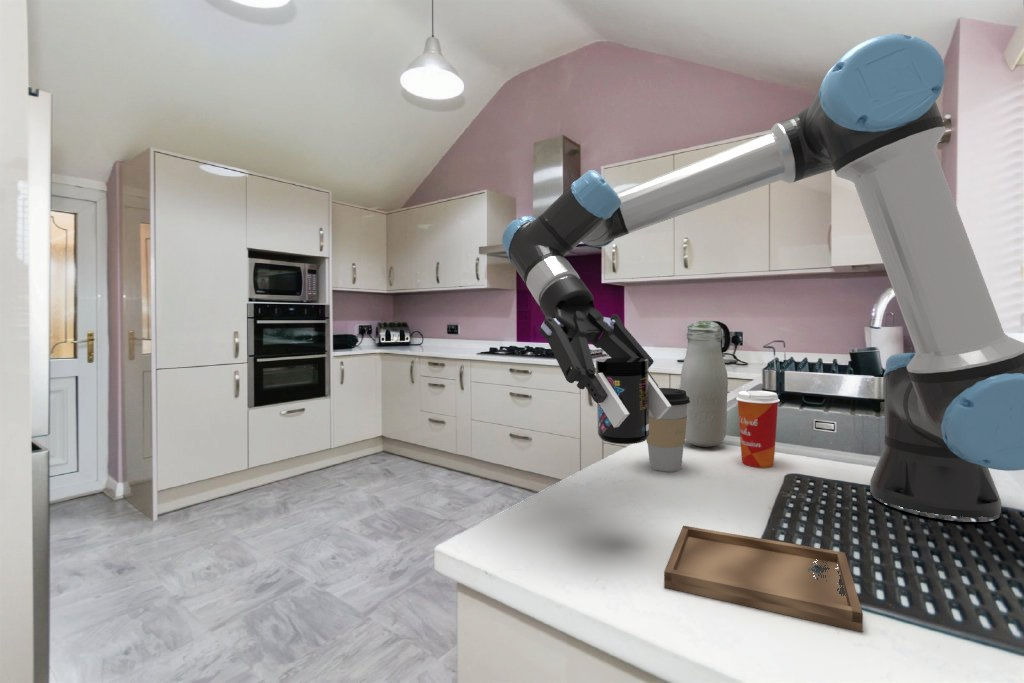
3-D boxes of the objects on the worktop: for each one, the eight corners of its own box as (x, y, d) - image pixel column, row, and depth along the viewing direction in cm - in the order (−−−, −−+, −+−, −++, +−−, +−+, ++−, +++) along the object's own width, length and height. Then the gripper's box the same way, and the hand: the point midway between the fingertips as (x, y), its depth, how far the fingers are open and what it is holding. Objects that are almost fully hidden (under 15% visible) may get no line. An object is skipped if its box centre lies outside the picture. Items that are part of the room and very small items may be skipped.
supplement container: (599, 431, 69) (597, 357, 69) (649, 433, 67) (648, 357, 67) (595, 444, 63) (593, 362, 62) (650, 446, 61) (648, 362, 60)
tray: (844, 567, 58) (844, 552, 57) (862, 632, 46) (862, 613, 46) (683, 538, 66) (682, 525, 66) (664, 587, 54) (664, 571, 54)
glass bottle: (681, 450, 108) (680, 322, 106) (680, 438, 117) (679, 321, 116) (730, 453, 105) (730, 321, 103) (725, 441, 114) (725, 320, 113)
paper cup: (729, 458, 101) (729, 390, 100) (767, 457, 101) (767, 389, 100) (746, 470, 93) (746, 396, 93) (788, 469, 93) (788, 395, 92)
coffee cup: (694, 475, 91) (693, 395, 90) (641, 473, 93) (640, 394, 92) (687, 460, 100) (686, 387, 99) (639, 459, 102) (638, 387, 101)
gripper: (598, 310, 82) (679, 422, 69) (495, 313, 72) (568, 446, 59) (620, 275, 78) (711, 389, 65) (514, 273, 67) (597, 408, 54)
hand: (643, 416), depth 62 cm, fingers closed on supplement container, 7 cm apart
